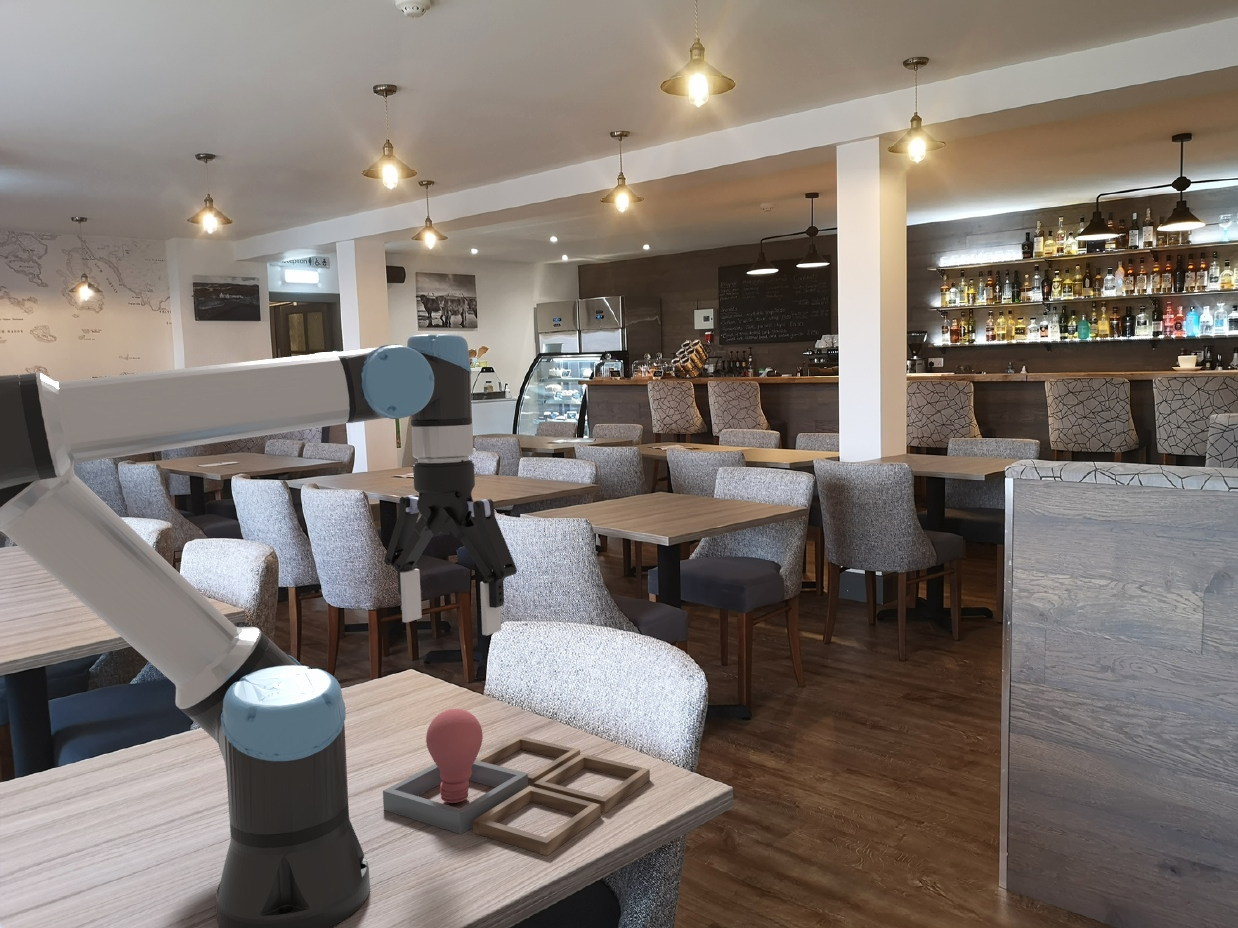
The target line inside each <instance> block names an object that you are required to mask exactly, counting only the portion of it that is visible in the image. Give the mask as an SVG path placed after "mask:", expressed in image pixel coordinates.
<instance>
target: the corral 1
mask: <svg viewBox="0 0 1238 928" xmlns="http://www.w3.org/2000/svg"><path fill="white" fill-rule="evenodd" d="M495 765H496V764H493V765H491V764H487V763H483V762H479V761H474V763H473V765H472V768H471V770H472V775H471V777H470V778H469V782H472V783H477V784H479V785H480V784H481V785H484V786H488V787H492V789H491V790H490V791H488V792H486V793H484V794H482V795H481V796H479V797H478V798H475V799H473V801H470V802H469V803H467V804H465V805H463V806H462V807H460V808H458V807H455V806H453V805H452V806H451V805H449V804H444V803H442V802H438V801H435V800H431V799H427V798H424V797H421V795H423V794H425V793H427V792H428V791H431V790H432V789H434V788H436V787H437V786H440V784H441V782H442V781H443V780H442V779H441V778H440V770H439V768H438V766H437V765H436V763H434V764H432V765H431V766H428V767H427V768H425V769H423V770H420V771H418V772H416V773H415V774H413V775H411V776H409V777H408V778H405V779H403V780H401V781H399V782H397V783H396V784H393V785H392V786H389V787H388V788H385V789H384V790H382V799H383V800H382V801H383V804H382V805H383V810H384V811H386V812H389V813H392V814H395V815H396V814H397V815H399V816H402V817H405V818H409V819H412V820H414V821H418V822H422V823H425V824H427V825H431V826H433V827H436V828H440V829H443V830H446V831H450V832H453V833H457V834H459V835H463V834H464V833H465V832H467V831H468V830H470V829H473V820H474V819H476V818H478V817H479V816H481V815H483V814H484V813H486V812H487V811H489V810H491V809H492V808H494V807H496V806H497V805H499V804H501V803H502V802H504V801H505V800H507V799H509V798H510V797H512V796H514V795H515V794H517V793H518V792H520V791H522V790H523V789H525V788H527V787H528V774H526V773H527V772H525V773H522V772H523V771H521V772H518V771H519V770H517V771H514V770H515V769H513V770H510V769H511V768H509V769H506V768H507V767H505V768H502V767H503V766H501V767H499V766H500V765H497V766H495Z"/></svg>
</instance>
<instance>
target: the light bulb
mask: <svg viewBox="0 0 1238 928" xmlns="http://www.w3.org/2000/svg"><path fill="white" fill-rule="evenodd" d="M480 723H481V722H480V721H479V720H478V719H477V717H476V716H475V715H474V714H473V713H471V712H469V711H467V710H465V709H462V708H450V709H446V710H444V711H442V712H440V713H438V714H437V715H436V716H435V717H434V718H433V719H432V721H430V724H429V726H428V728H427V731H426V736H425V738H426V739H425V740H426V742H425V743H426V748H427V750H428V752H429V754H430V757H431V758H432V760H433V762H434V764H436V765H437V766H438V768H439V770H440V778H441V779H442V780H443V781H442V782H441V784H440V785H439V786H440V788H439V789H440V799H441V800H442V801H444V802H445V803H450V804H455V803H456V804H457V803H461V802H463V801H465V800H467V799H468V798H469V789H470V781H469V778H470V777H471V775H472V770H471V768H472V765H473V763H474V761H475V759H476V758H478V755H479V752H480V750H481V747H482V744H483V737H484V736H483V728H482V725H481V724H480Z"/></svg>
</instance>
